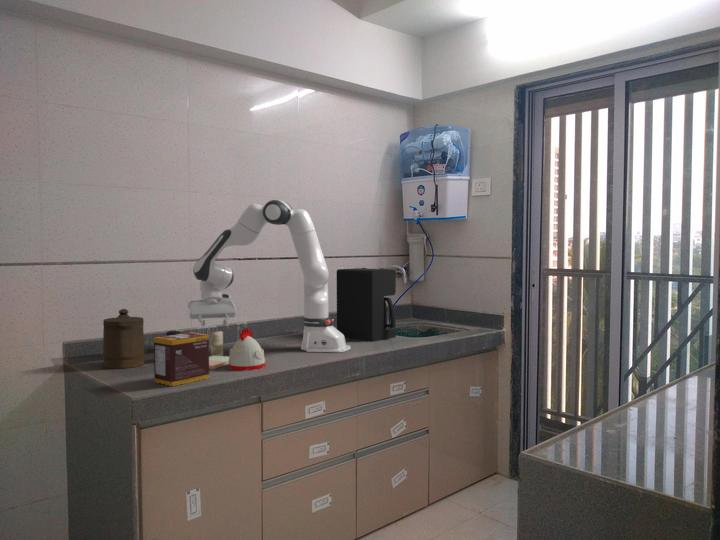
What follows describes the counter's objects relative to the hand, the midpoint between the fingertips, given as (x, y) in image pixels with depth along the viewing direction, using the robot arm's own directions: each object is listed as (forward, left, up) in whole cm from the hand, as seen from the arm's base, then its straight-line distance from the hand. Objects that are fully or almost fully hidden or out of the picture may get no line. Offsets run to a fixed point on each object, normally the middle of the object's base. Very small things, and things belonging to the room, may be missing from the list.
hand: (214, 324), depth 248 cm
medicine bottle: (+6, +20, -12) cm, 25 cm away
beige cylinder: (-5, +6, -12) cm, 15 cm away
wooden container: (+19, +34, -12) cm, 41 cm away
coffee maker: (-52, -60, -12) cm, 80 cm away
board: (-13, +21, -12) cm, 28 cm away
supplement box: (-19, +49, -12) cm, 55 cm away
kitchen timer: (-29, +23, -13) cm, 39 cm away
